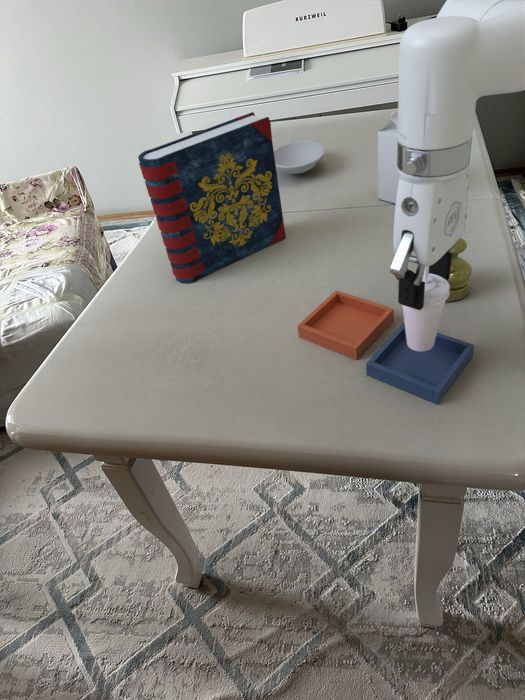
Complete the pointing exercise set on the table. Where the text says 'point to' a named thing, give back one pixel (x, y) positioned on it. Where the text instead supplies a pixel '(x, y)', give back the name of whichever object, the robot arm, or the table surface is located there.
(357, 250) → the table surface
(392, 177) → the milk carton
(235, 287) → the table surface
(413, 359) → the blue tray
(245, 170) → the book
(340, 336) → the terracotta tray
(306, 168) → the dish
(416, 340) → the smoothie
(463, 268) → the brass weight
